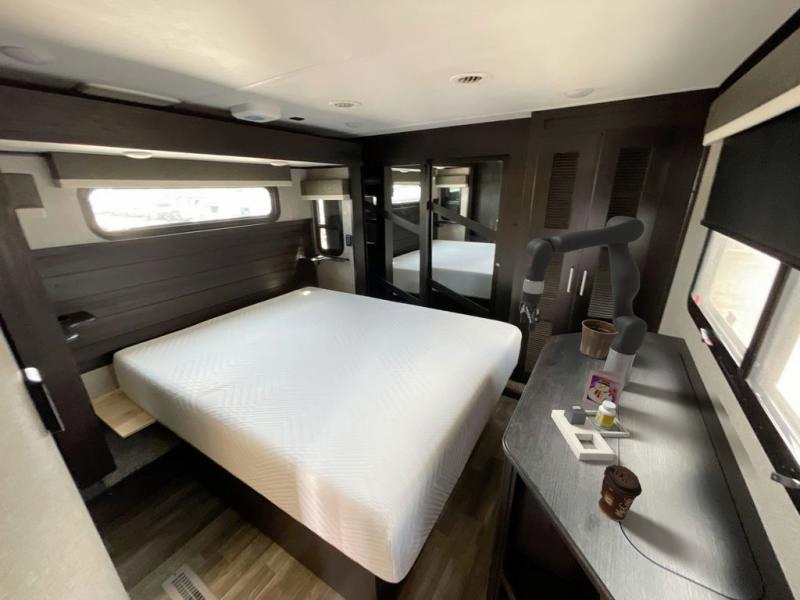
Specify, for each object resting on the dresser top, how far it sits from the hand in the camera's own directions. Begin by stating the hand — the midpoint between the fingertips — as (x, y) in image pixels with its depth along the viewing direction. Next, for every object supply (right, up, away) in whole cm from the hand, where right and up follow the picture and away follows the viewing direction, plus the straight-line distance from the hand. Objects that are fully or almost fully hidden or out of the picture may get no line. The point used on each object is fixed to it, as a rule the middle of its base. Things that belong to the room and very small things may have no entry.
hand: (526, 326), depth 127 cm
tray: (+23, -36, -13) cm, 45 cm away
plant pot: (+50, -18, +35) cm, 64 cm away
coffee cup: (+5, -47, -43) cm, 64 cm away
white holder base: (+11, -38, -19) cm, 43 cm away
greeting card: (+29, -32, -2) cm, 43 cm away
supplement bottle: (+23, -36, -13) cm, 45 cm away
